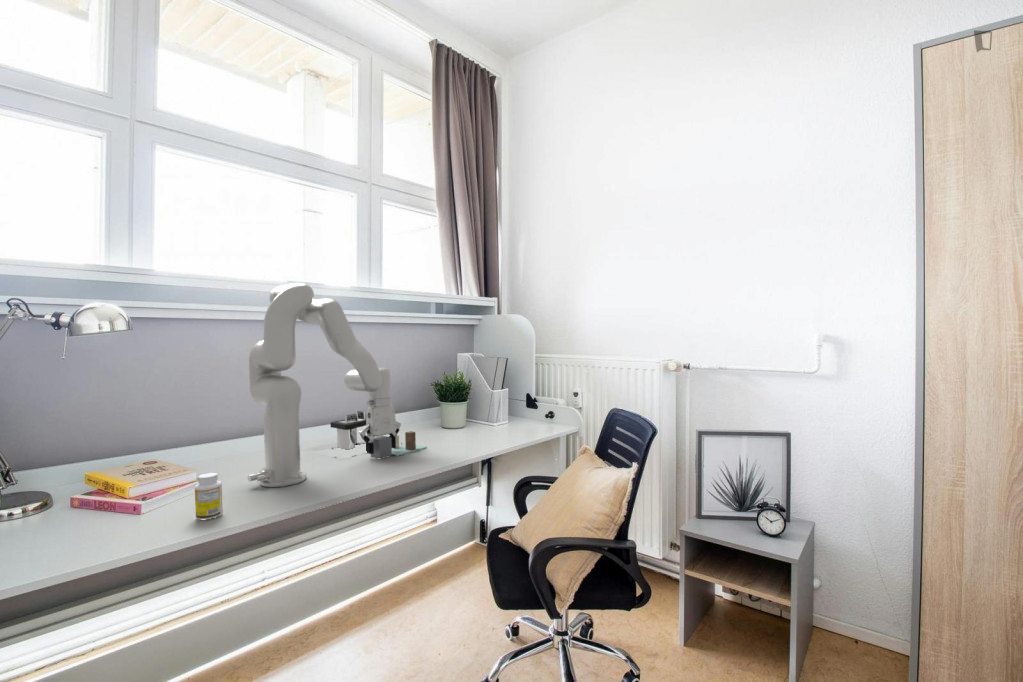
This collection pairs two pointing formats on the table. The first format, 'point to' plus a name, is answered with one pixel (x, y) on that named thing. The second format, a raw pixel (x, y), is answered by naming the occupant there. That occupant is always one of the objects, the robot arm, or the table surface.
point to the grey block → (382, 447)
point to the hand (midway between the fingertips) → (381, 450)
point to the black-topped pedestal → (348, 430)
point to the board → (403, 448)
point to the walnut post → (410, 440)
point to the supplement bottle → (208, 496)
